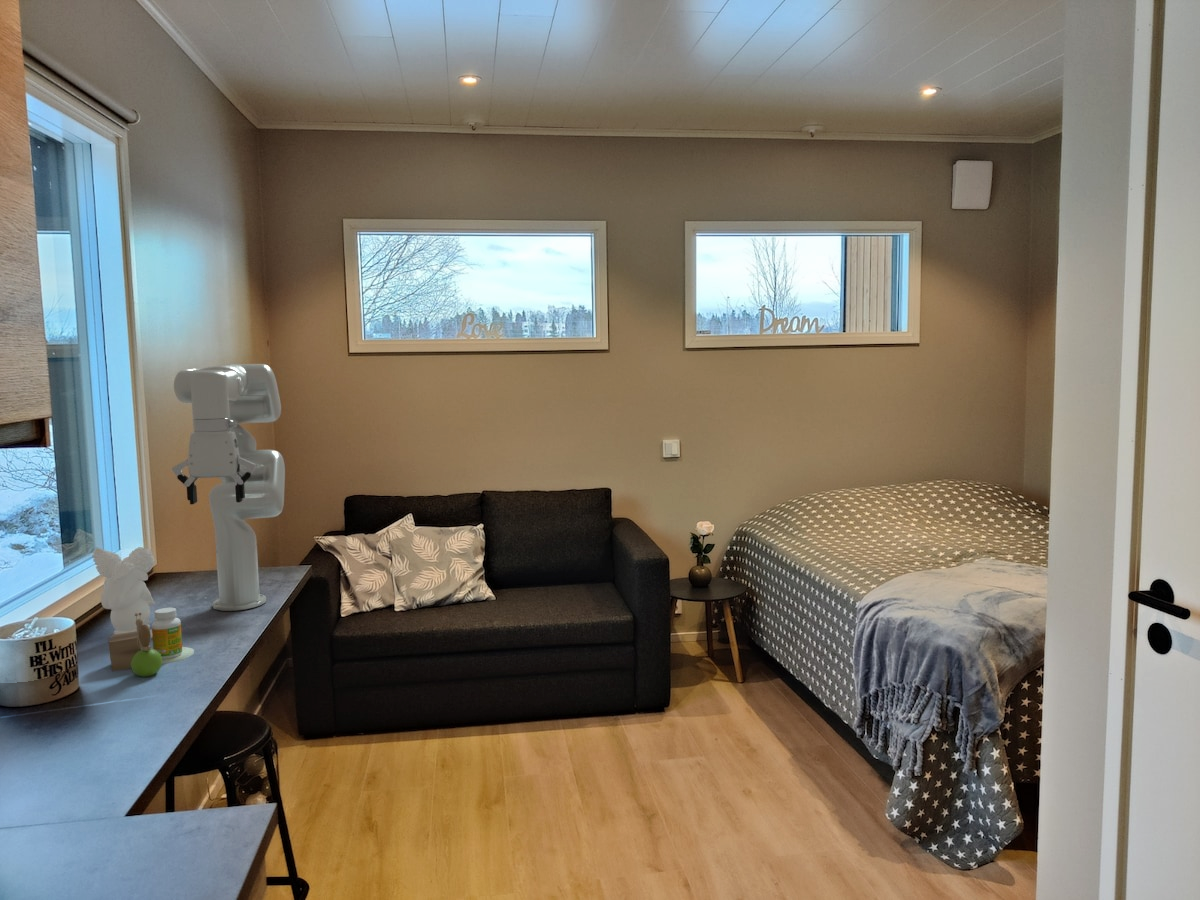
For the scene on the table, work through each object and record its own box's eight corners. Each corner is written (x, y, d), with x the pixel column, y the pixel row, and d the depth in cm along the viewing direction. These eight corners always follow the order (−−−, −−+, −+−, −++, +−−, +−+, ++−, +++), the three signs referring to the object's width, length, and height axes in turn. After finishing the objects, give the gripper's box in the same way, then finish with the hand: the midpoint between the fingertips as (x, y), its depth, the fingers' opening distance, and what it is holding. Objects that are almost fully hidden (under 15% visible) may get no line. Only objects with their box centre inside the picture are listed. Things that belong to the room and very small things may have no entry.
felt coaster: (150, 650, 179) (149, 648, 179) (199, 647, 180) (199, 645, 180) (133, 667, 169) (133, 665, 169) (186, 663, 171) (186, 661, 171)
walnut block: (115, 663, 171) (111, 635, 170) (142, 658, 173) (139, 630, 172) (112, 671, 166) (108, 642, 165) (140, 666, 168) (136, 637, 167)
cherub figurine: (157, 630, 193) (151, 536, 191) (166, 644, 183) (159, 545, 181) (96, 640, 186) (89, 544, 184) (102, 656, 176) (94, 553, 174)
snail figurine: (156, 667, 168) (152, 609, 167) (167, 675, 164) (162, 616, 163) (126, 674, 165) (122, 615, 163) (136, 683, 160) (132, 622, 159)
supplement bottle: (170, 660, 171) (167, 614, 170) (147, 659, 172) (144, 613, 171) (188, 651, 176) (185, 607, 176) (165, 650, 177) (163, 605, 177)
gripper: (256, 424, 190) (260, 498, 192) (175, 426, 187) (180, 501, 189) (249, 426, 183) (253, 503, 185) (164, 429, 180) (169, 507, 181)
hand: (216, 502), depth 187 cm, fingers open, 9 cm apart
